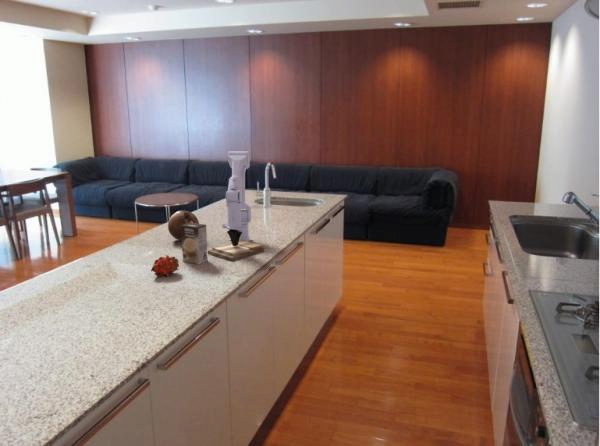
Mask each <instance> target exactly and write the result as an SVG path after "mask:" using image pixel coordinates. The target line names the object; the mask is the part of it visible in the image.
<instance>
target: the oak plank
mask: <svg viewBox="0 0 600 446" xmlns="http://www.w3.org/2000/svg"><path fill="white" fill-rule="evenodd" d="M212 249H213V250H214V251H217V252H221V253H224V254H227V255H231V256H236V255H239V254H242V253H245V252H248V251H250V248H247V247H243V246H239V245H238V246H233V245H232V243H231V242H228V243H223V244H221V245H220V244H219V245H218V246H213V247H212Z"/></svg>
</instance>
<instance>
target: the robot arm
mask: <svg viewBox="0 0 600 446" xmlns="http://www.w3.org/2000/svg"><path fill="white" fill-rule="evenodd" d="M250 156H251V155H250V152H249V151H248V150H246V151H245V150H243V151H242V150H240V151H239V150H237V151H235V150H233V151H232V150H229V151H228V152H227V162H228V164H229V167H230V169H231V176H230V178H229V179H228V185H227V187H228V188H227V191H225V202H226V207H227V222H228V223H227V222H225V223H222V229H227V231H226V234H228V236H229V238H228V241H230V243H231V242H232V245H233V246H238V242H239V240H244V241H248V242H252V241H253V239H252V238H249V237H250V236H249V234H250V233H249V223H251V221H252V211H251V210H252V209H251V206H250V205H248V204H247V203H246V170H247V169H249V168H250V166H251V164H250V163H251V158H250Z"/></svg>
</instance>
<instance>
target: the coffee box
mask: <svg viewBox="0 0 600 446" xmlns="http://www.w3.org/2000/svg"><path fill="white" fill-rule="evenodd" d="M181 234H182V241H181V249H182V252H181V253H182V262H185V263H191V264H196V265H200V264H202V263H205V262H207V261H208V240H207V239H208V237H207V235H208V234H207V224H204V223H203V224H202V223H199V224H197V223H187V224H184V225H182V226H181Z"/></svg>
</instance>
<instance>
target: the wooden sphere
mask: <svg viewBox="0 0 600 446" xmlns="http://www.w3.org/2000/svg"><path fill="white" fill-rule="evenodd" d="M187 223H197V224H200V222H199V219H198V217H197V216H196V214H194V213H193V212H191V211H188V210H178V211H176V212H174V213H173V214H172V215H171V216H170V218H169V219H168V223H167V230H168V232H169V234H170V235H171V237H172V238H174V239H175V240H177V241H181V242H182V234H181V226H182V225H184V224H187Z"/></svg>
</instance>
